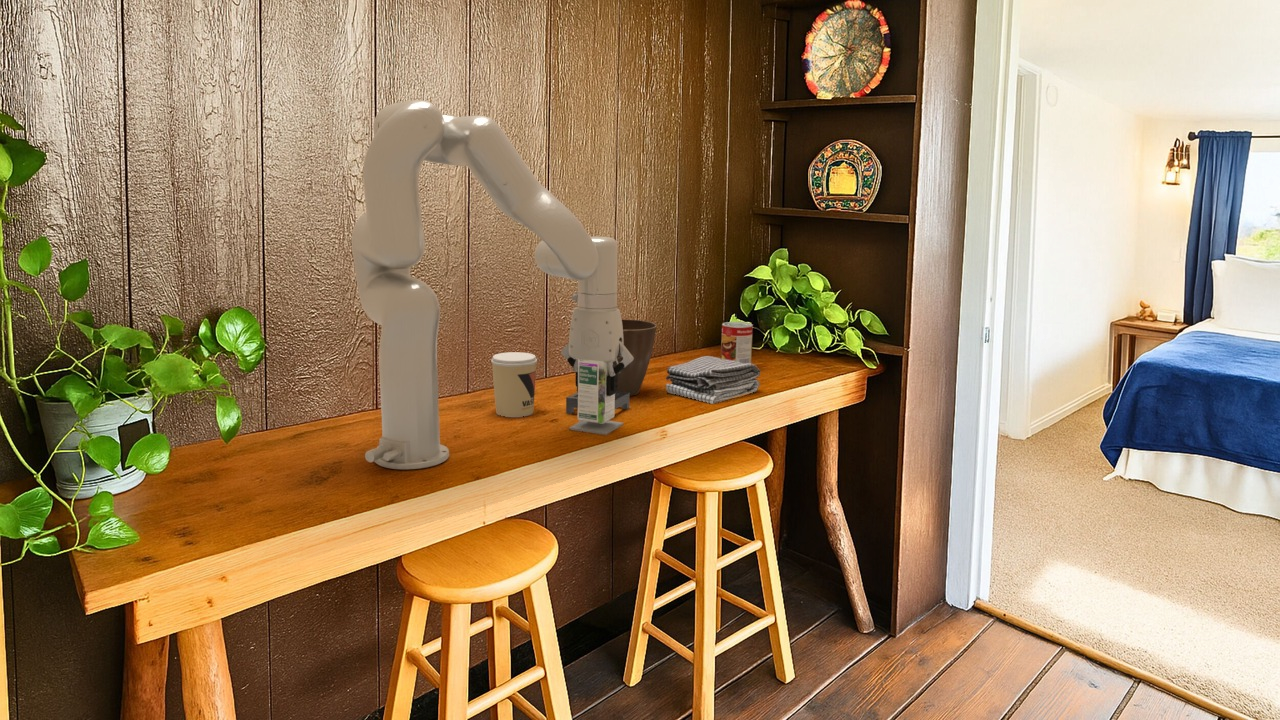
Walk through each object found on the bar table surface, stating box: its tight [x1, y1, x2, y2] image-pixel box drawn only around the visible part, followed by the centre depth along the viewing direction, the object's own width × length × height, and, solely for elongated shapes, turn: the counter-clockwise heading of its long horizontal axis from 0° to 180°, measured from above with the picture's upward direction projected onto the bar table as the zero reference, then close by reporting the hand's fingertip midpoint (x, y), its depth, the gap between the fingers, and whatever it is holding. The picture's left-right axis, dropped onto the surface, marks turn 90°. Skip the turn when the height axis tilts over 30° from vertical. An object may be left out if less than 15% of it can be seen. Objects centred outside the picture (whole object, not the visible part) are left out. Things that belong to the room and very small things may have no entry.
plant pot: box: [617, 318, 657, 397], centre depth 198 cm, size 15×15×16 cm
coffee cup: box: [490, 351, 538, 418], centre depth 180 cm, size 9×9×12 cm
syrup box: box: [576, 359, 616, 424], centre depth 169 cm, size 6×6×14 cm
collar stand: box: [565, 391, 631, 415], centre depth 183 cm, size 10×10×4 cm
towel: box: [665, 355, 761, 405], centre depth 200 cm, size 15×18×8 cm
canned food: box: [720, 321, 754, 364], centre depth 224 cm, size 8×8×12 cm
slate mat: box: [568, 420, 624, 436], centre depth 171 cm, size 8×8×1 cm
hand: (596, 391), depth 170 cm, fingers closed on syrup box, 5 cm apart
